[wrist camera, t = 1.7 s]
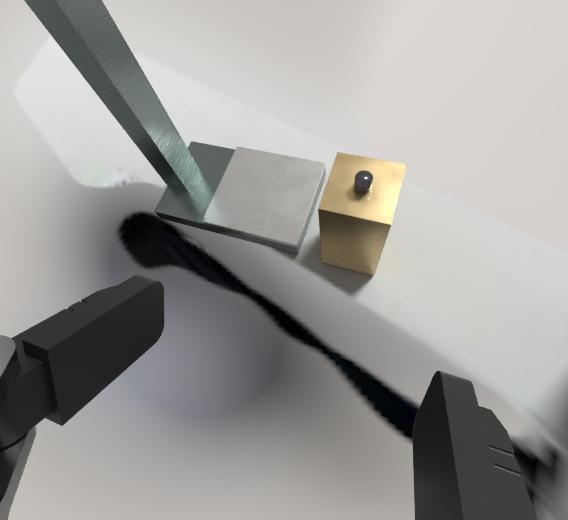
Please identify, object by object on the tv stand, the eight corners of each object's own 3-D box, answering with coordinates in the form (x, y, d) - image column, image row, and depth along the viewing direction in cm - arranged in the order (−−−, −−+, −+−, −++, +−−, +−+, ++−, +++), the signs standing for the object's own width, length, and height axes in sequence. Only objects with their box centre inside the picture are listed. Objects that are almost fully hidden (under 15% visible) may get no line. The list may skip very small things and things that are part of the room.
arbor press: (334, 148, 37) (341, -400, 12) (298, 253, 33) (181, -249, 7) (208, 126, 41) (5, -324, 16) (160, 218, 37) (-231, -194, 11)
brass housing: (385, 229, 33) (409, 155, 23) (373, 275, 31) (393, 217, 21) (336, 218, 34) (337, 142, 24) (322, 262, 32) (317, 200, 22)
